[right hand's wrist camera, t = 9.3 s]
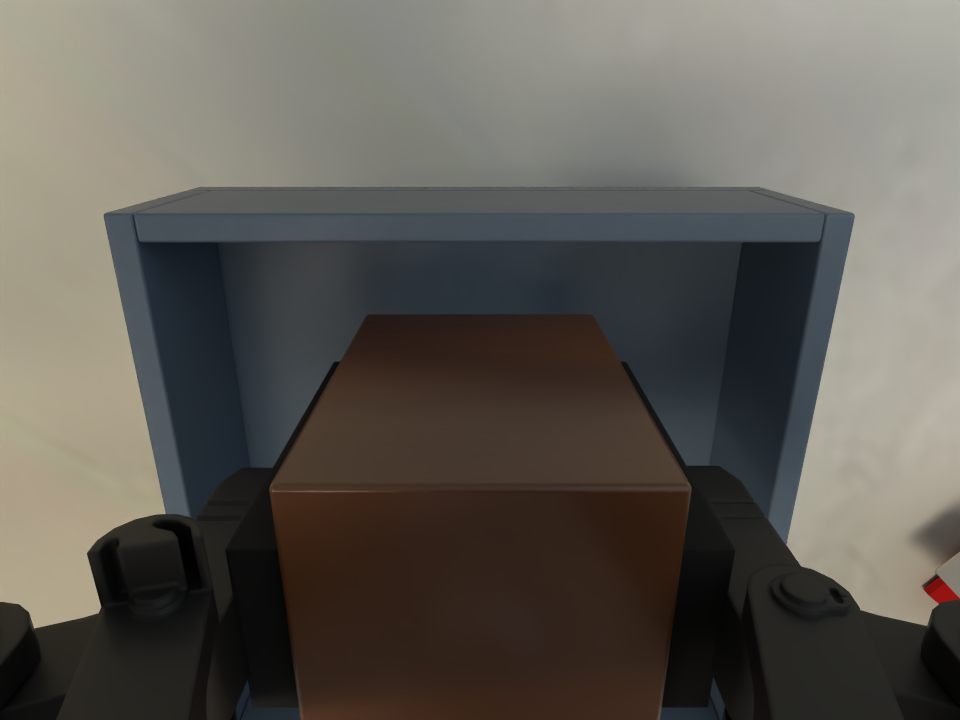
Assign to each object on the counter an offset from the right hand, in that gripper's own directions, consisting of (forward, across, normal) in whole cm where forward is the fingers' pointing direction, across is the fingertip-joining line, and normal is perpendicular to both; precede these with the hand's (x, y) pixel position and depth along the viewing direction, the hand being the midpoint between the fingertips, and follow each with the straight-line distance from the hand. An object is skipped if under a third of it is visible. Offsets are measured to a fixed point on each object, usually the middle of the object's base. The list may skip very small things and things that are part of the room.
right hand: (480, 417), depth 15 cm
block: (0, 0, 0) cm, 0 cm away
